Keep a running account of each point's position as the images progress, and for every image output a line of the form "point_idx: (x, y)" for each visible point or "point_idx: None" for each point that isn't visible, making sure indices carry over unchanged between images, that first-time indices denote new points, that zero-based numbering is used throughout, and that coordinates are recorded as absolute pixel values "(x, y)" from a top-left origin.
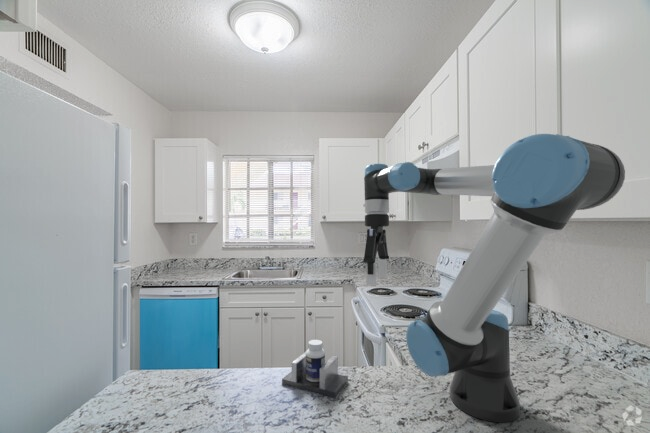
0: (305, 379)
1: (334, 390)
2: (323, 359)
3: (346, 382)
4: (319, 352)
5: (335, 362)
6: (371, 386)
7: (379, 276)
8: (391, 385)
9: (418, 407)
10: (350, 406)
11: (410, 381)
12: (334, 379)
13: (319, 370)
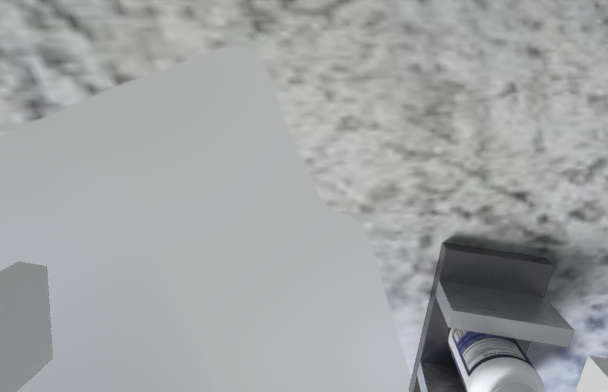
0: None
1: (544, 270)
2: (512, 351)
3: (455, 245)
4: (530, 381)
5: (472, 307)
6: (452, 169)
7: (29, 363)
8: (429, 107)
9: (549, 12)
10: (579, 211)
11: (385, 44)
12: (476, 283)
13: (516, 341)
